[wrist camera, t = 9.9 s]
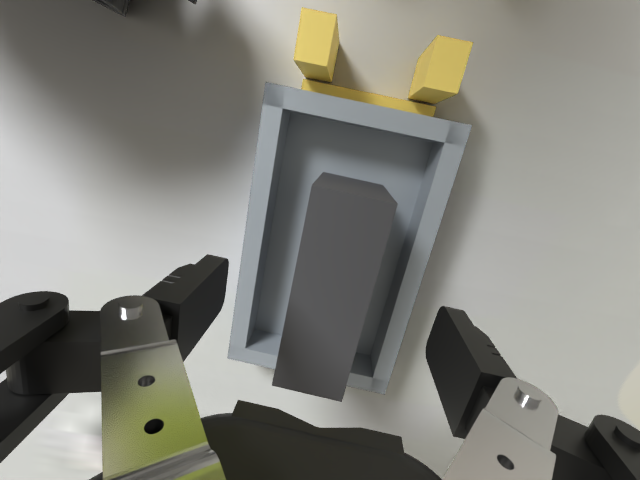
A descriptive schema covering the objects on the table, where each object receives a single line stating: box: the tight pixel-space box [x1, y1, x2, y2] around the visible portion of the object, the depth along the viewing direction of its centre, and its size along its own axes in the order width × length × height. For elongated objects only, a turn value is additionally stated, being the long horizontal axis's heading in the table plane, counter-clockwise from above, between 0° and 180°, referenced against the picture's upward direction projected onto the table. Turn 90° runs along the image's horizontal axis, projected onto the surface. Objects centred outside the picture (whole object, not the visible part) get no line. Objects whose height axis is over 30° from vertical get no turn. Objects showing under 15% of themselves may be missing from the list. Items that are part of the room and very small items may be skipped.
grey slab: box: [272, 172, 398, 402], centre depth 17 cm, size 11×4×6 cm, turn 168°
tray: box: [228, 82, 472, 395], centre depth 19 cm, size 16×10×3 cm, turn 168°
